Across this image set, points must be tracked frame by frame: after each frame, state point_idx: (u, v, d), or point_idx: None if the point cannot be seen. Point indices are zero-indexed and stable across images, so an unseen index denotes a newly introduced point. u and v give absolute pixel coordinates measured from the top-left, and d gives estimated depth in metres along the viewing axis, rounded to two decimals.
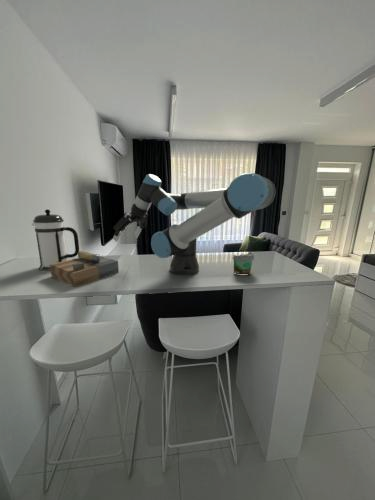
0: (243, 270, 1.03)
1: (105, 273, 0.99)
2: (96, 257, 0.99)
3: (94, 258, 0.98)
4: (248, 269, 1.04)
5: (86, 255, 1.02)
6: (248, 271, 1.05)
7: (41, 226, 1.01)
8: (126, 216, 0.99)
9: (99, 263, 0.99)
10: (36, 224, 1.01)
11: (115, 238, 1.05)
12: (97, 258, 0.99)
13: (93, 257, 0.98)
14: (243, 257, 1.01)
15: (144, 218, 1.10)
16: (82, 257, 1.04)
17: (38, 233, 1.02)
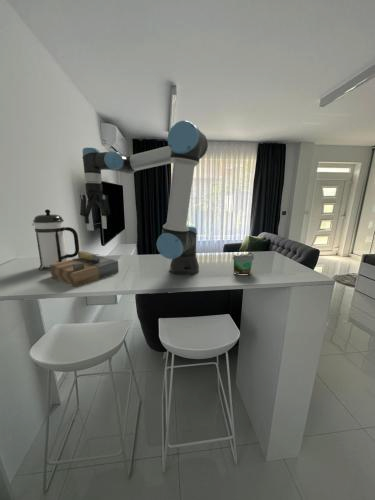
0: (243, 270, 1.03)
1: (105, 273, 0.99)
2: (96, 257, 0.99)
3: (94, 258, 0.98)
4: (248, 269, 1.04)
5: (86, 255, 1.02)
6: (248, 271, 1.05)
7: (41, 226, 1.01)
8: (82, 197, 0.99)
9: (99, 263, 0.99)
10: (36, 224, 1.01)
11: (88, 227, 1.04)
12: (97, 258, 0.99)
13: (93, 257, 0.98)
14: (243, 257, 1.01)
15: (105, 201, 1.10)
16: (82, 257, 1.04)
17: (38, 233, 1.02)
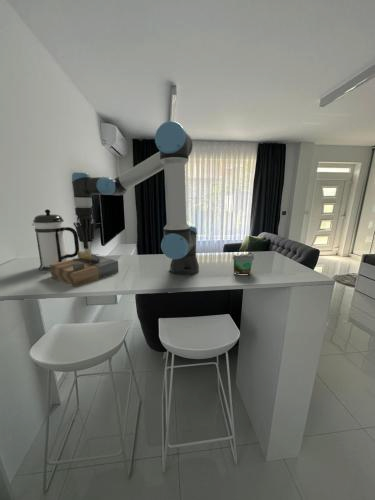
0: (243, 270, 1.03)
1: (105, 273, 0.99)
2: (96, 257, 0.99)
3: (94, 258, 0.98)
4: (248, 269, 1.04)
5: (86, 255, 1.02)
6: (248, 271, 1.05)
7: (41, 226, 1.01)
8: (77, 225, 0.98)
9: (99, 263, 0.99)
10: (36, 224, 1.01)
11: None
12: (97, 258, 0.99)
13: (93, 257, 0.98)
14: (243, 257, 1.01)
15: (91, 225, 1.07)
16: (82, 257, 1.04)
17: (38, 233, 1.02)
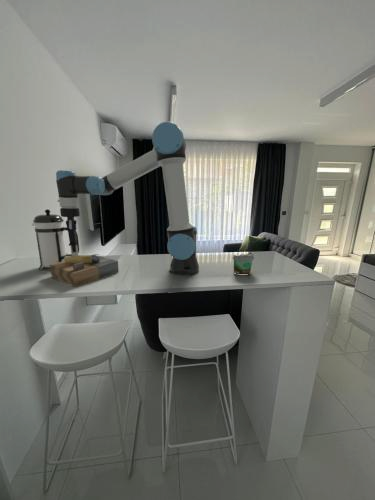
0: (243, 270, 1.03)
1: (105, 273, 0.99)
2: (98, 256, 1.00)
3: (97, 258, 0.99)
4: (248, 269, 1.04)
5: (82, 257, 0.98)
6: (248, 271, 1.05)
7: (41, 226, 1.01)
8: (71, 227, 0.91)
9: (99, 263, 0.99)
10: (36, 224, 1.01)
11: None
12: (99, 257, 1.00)
13: (96, 257, 0.99)
14: (243, 257, 1.01)
15: None
16: (74, 261, 0.97)
17: (38, 233, 1.02)
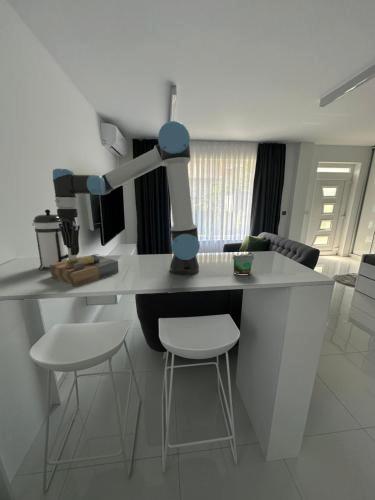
0: (243, 270, 1.03)
1: (105, 273, 0.99)
2: (99, 256, 1.01)
3: (99, 257, 1.00)
4: (248, 269, 1.04)
5: (84, 259, 0.95)
6: (248, 271, 1.05)
7: (41, 226, 1.01)
8: (77, 228, 0.88)
9: (99, 263, 0.99)
10: (36, 224, 1.01)
11: None
12: None
13: (98, 256, 0.99)
14: (243, 257, 1.01)
15: None
16: None
17: (38, 233, 1.02)
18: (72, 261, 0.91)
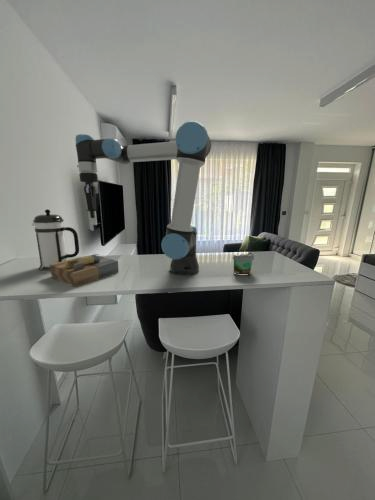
0: (243, 270, 1.03)
1: (105, 273, 0.99)
2: (99, 256, 1.01)
3: (99, 257, 1.00)
4: (248, 269, 1.04)
5: (84, 259, 0.95)
6: (248, 271, 1.05)
7: (41, 226, 1.01)
8: (88, 191, 0.93)
9: (99, 263, 0.99)
10: (36, 224, 1.01)
11: (93, 222, 1.01)
12: None
13: (98, 256, 0.99)
14: (243, 257, 1.01)
15: None
16: None
17: (38, 233, 1.02)
18: (72, 261, 0.91)
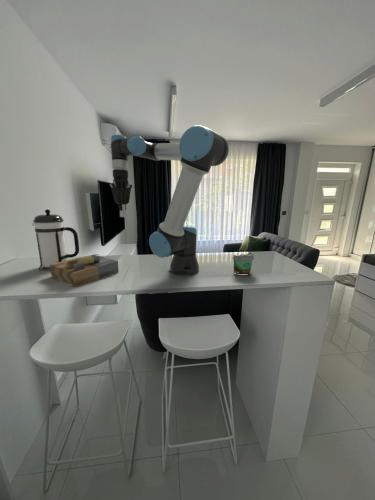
0: (243, 270, 1.03)
1: (105, 273, 0.99)
2: (99, 256, 1.01)
3: (99, 257, 1.00)
4: (248, 269, 1.04)
5: (84, 259, 0.95)
6: (248, 271, 1.05)
7: (41, 226, 1.01)
8: (112, 185, 1.04)
9: (99, 263, 0.99)
10: (36, 224, 1.01)
11: (121, 214, 1.11)
12: None
13: (98, 256, 0.99)
14: (243, 257, 1.01)
15: (127, 189, 1.12)
16: None
17: (38, 233, 1.02)
18: (72, 261, 0.91)
